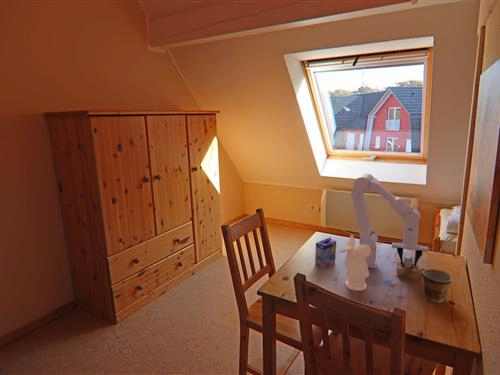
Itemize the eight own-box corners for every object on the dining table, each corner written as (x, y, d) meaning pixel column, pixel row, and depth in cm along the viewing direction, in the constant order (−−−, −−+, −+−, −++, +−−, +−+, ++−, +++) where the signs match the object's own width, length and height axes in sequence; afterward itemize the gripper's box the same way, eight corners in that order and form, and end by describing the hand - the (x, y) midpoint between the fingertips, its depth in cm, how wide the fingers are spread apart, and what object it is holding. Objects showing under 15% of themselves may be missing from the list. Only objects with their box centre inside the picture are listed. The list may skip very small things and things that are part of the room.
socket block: (396, 276, 143) (397, 268, 142) (396, 267, 151) (397, 259, 150) (419, 280, 140) (419, 271, 139) (417, 270, 148) (418, 262, 147)
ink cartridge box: (323, 269, 151) (324, 241, 148) (314, 265, 156) (314, 238, 152) (336, 263, 157) (337, 236, 154) (327, 259, 162) (327, 233, 158)
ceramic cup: (455, 302, 123) (458, 278, 121) (434, 307, 120) (437, 283, 118) (428, 285, 135) (430, 264, 133) (409, 289, 132) (411, 267, 130)
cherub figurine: (372, 291, 132) (375, 242, 127) (344, 295, 130) (347, 246, 125) (356, 277, 144) (359, 231, 138) (331, 280, 141) (333, 234, 136)
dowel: (403, 274, 145) (404, 258, 143) (403, 271, 147) (405, 255, 146) (411, 276, 143) (412, 259, 141) (411, 273, 146) (412, 257, 144)
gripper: (392, 237, 141) (390, 265, 144) (430, 241, 135) (427, 271, 138) (392, 232, 147) (390, 259, 150) (428, 235, 141) (425, 263, 144)
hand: (408, 264), depth 144 cm, fingers open, 5 cm apart
